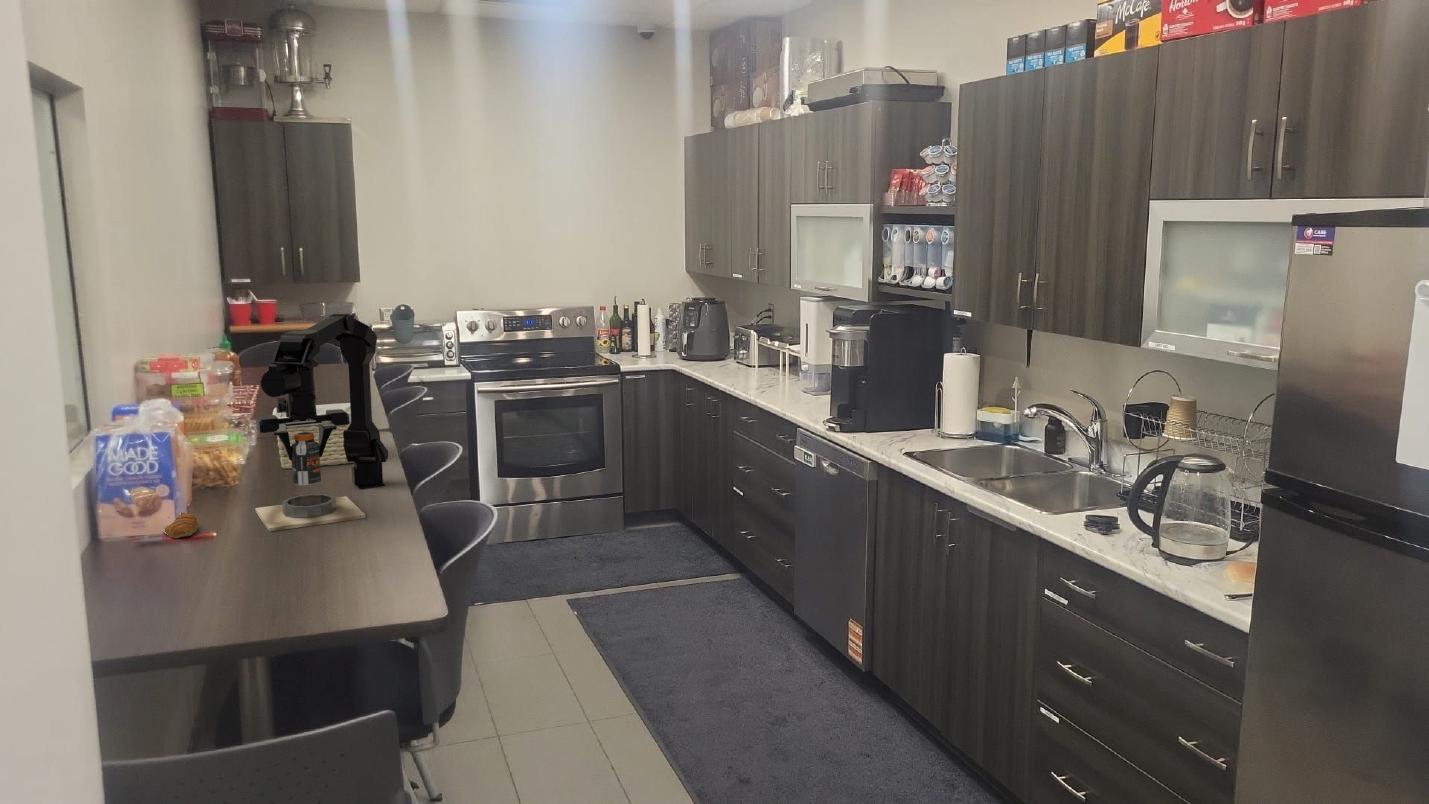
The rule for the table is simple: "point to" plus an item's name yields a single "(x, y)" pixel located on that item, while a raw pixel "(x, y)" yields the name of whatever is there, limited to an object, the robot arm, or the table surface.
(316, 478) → the pill bottle
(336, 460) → the storage basket
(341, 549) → the table surface
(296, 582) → the table surface
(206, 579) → the table surface
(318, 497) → the ring holder
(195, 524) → the pastry
